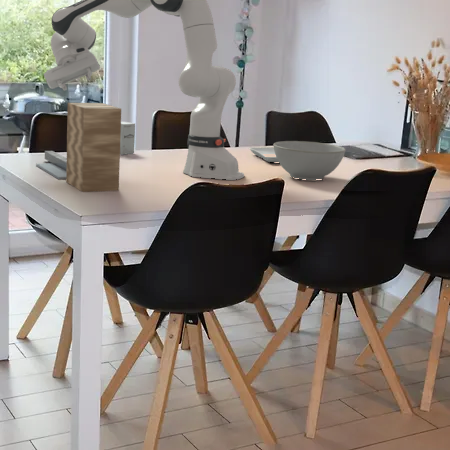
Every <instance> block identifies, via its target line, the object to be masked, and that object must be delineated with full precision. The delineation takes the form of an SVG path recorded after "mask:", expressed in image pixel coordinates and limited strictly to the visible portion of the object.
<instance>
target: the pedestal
mask: <svg viewBox="0 0 450 450" xmlns="http://www.w3.org/2000/svg"><path fill="white" fill-rule="evenodd" d="M66 113H67V115H66V117H67V118H66V119H67V121H66V122H67V123H66V124H67V126H66V127H67V129H66V158H67V172H66V179H65V180H66V183H67V184H69V185H70V186H73V187H74V188H75V189H77V190H79V191H81V192H83V193H91V192H112V191H113V192H114V191H115V192H117V191H120V186H119V185H120V164H121V163H120V160H121V155H120V137H121V122H122V108H120V107H117V106H113V105H110V104H107V103H103V102H67V112H66Z"/></svg>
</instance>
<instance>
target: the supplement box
mask: <svg viewBox="0 0 450 450" xmlns="http://www.w3.org/2000/svg"><path fill="white" fill-rule="evenodd" d="M135 137H136V123H134V122H128V121H121V137H120V156H122V155H130V154H133V153H134V154H135V139H136V138H135Z"/></svg>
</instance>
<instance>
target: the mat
mask: <svg viewBox="0 0 450 450" xmlns="http://www.w3.org/2000/svg"><path fill="white" fill-rule="evenodd" d="M35 165H36V167H38V168H39V169H40V170H42V171H44V172H46V173H47V174H49V175H51V176H52V177H54V178H55V179H57V180H66V172H67V171H65V170H63V169H62V168H60V167H58V166H56V165H55V164H53V163H51V162H47V163H45V162H44V163H36V164H35Z"/></svg>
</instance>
